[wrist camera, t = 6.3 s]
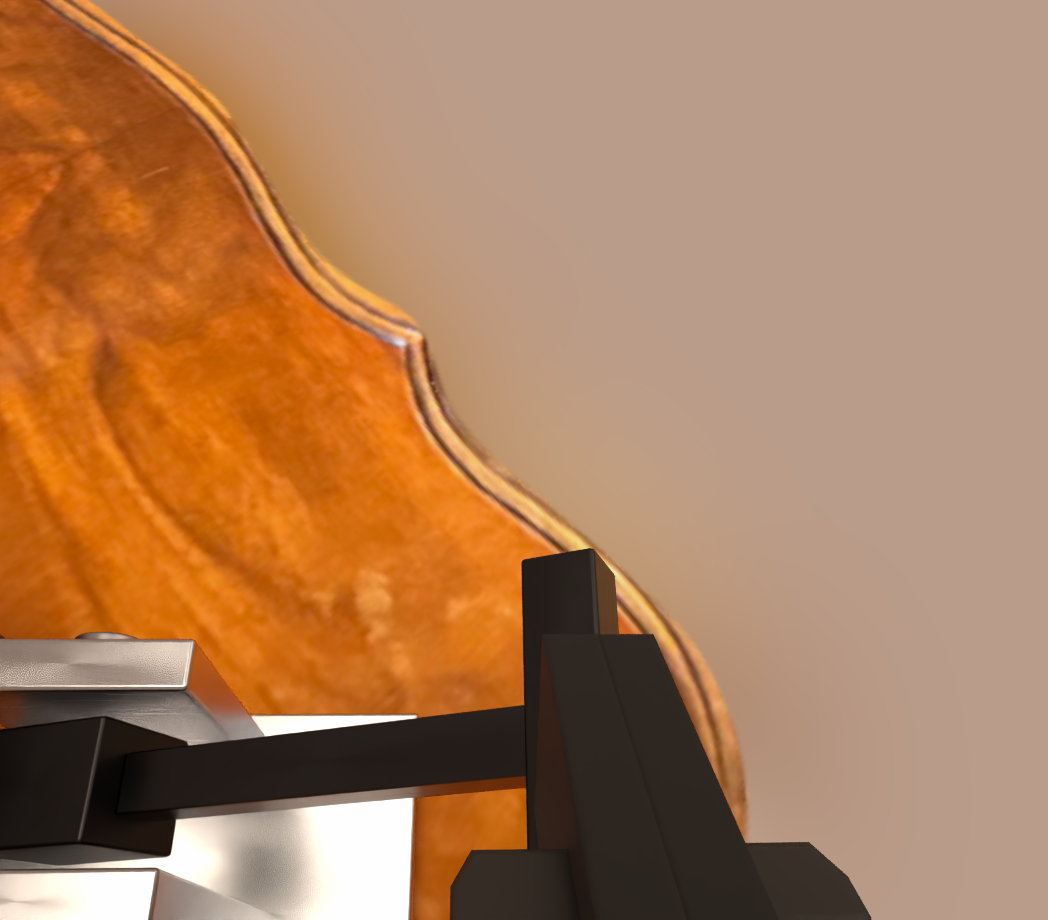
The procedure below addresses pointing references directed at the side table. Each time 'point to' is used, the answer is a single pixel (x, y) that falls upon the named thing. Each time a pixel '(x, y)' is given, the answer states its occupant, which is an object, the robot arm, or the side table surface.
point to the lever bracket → (207, 842)
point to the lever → (282, 753)
